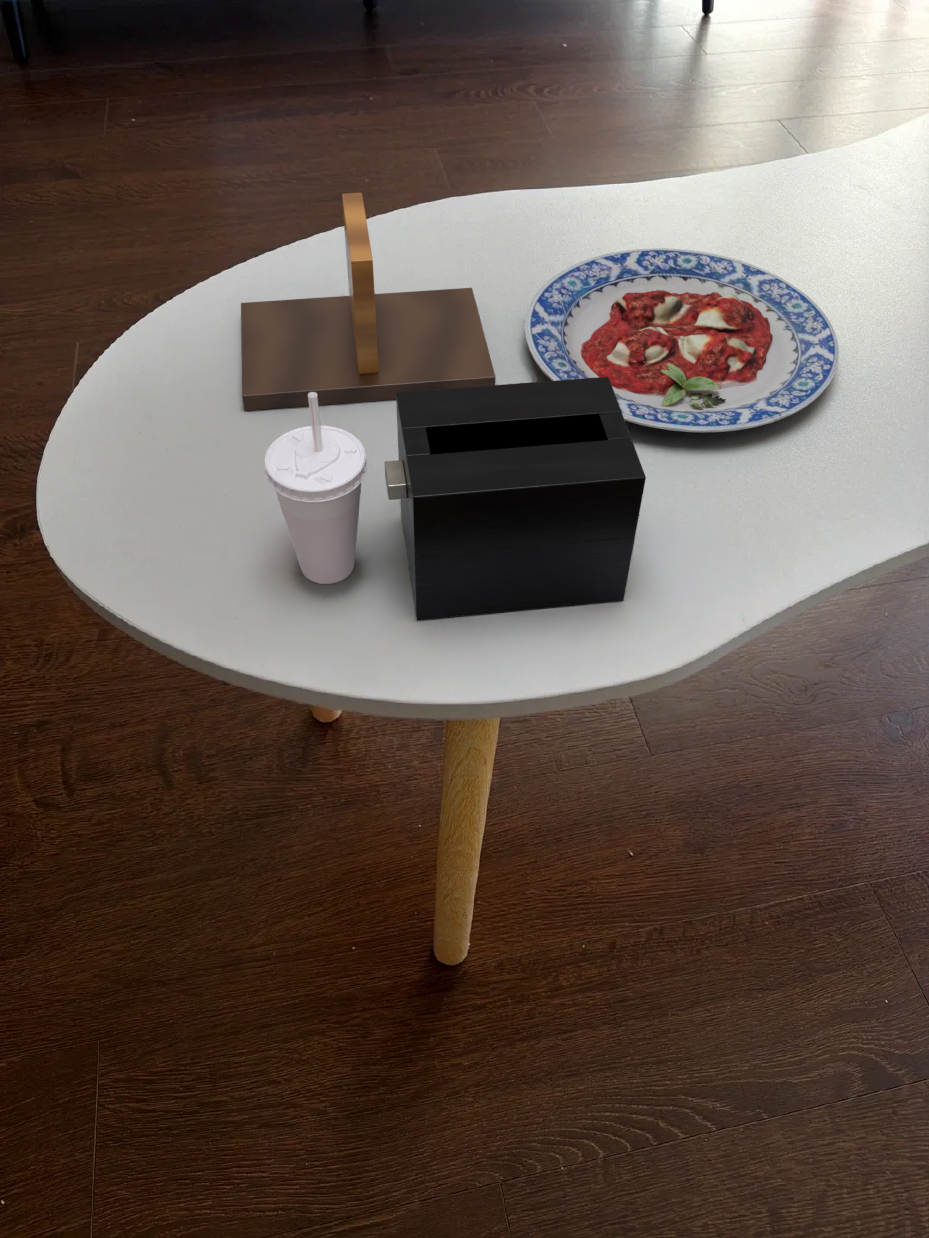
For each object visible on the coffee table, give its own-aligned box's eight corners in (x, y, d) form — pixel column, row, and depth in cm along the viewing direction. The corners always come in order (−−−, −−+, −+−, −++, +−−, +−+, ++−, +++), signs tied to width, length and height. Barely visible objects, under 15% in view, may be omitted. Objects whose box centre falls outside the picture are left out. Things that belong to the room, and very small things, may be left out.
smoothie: (388, 544, 77) (379, 380, 66) (352, 609, 73) (336, 445, 62) (304, 523, 78) (282, 358, 68) (264, 585, 74) (234, 420, 64)
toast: (349, 304, 94) (341, 193, 86) (368, 303, 94) (362, 192, 86) (358, 374, 87) (350, 261, 80) (378, 373, 87) (372, 259, 80)
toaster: (398, 622, 72) (392, 499, 64) (384, 518, 79) (377, 393, 70) (623, 600, 74) (646, 477, 65) (591, 500, 80) (608, 376, 72)
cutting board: (244, 411, 86) (241, 396, 85) (243, 317, 95) (240, 302, 94) (494, 392, 88) (495, 377, 87) (471, 302, 97) (472, 287, 96)
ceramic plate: (559, 251, 103) (562, 221, 100) (840, 295, 98) (849, 265, 96) (488, 417, 86) (489, 386, 84) (821, 479, 82) (832, 448, 80)
